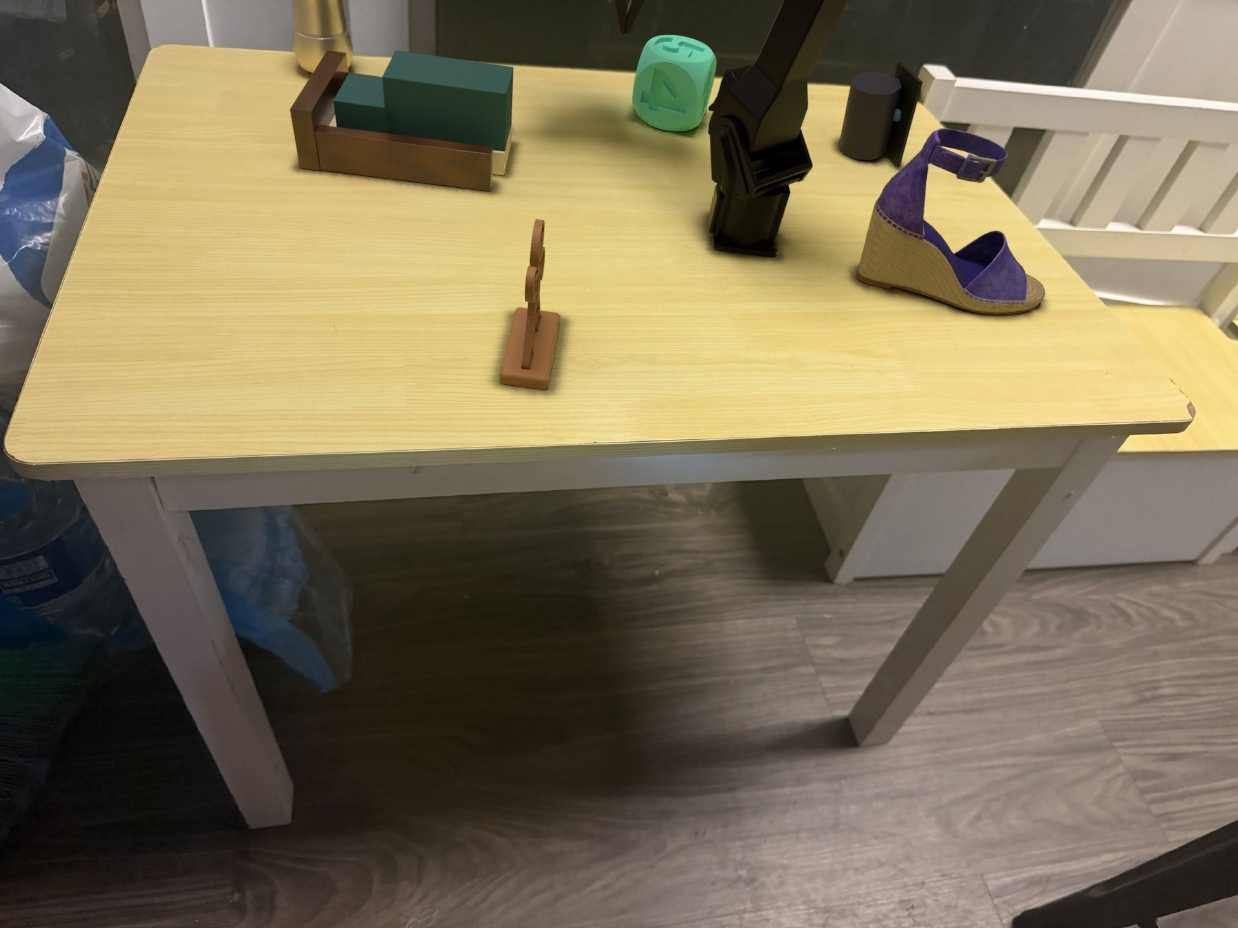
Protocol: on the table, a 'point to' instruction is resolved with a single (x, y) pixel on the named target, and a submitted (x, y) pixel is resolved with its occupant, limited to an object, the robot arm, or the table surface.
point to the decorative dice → (673, 82)
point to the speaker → (880, 114)
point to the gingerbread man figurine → (531, 328)
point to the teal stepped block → (433, 102)
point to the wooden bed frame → (377, 141)
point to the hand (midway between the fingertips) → (624, 33)
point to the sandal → (919, 253)
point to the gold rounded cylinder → (319, 31)
